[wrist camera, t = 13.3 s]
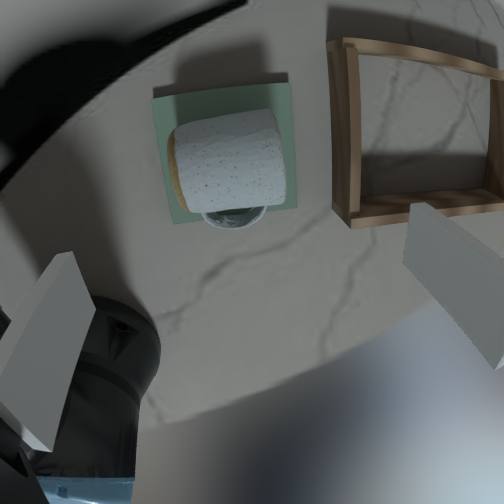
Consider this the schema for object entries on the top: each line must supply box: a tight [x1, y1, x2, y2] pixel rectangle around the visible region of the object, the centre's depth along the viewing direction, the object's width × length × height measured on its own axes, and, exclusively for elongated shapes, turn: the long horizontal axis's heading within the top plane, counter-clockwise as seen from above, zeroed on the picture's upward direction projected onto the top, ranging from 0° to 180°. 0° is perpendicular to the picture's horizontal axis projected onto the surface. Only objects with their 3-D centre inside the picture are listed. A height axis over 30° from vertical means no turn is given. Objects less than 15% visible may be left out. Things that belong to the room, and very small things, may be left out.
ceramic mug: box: [167, 109, 287, 229], centre depth 24 cm, size 11×8×8 cm
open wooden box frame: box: [326, 37, 504, 229], centre depth 26 cm, size 24×17×5 cm
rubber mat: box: [151, 83, 297, 225], centre depth 27 cm, size 12×12×1 cm
